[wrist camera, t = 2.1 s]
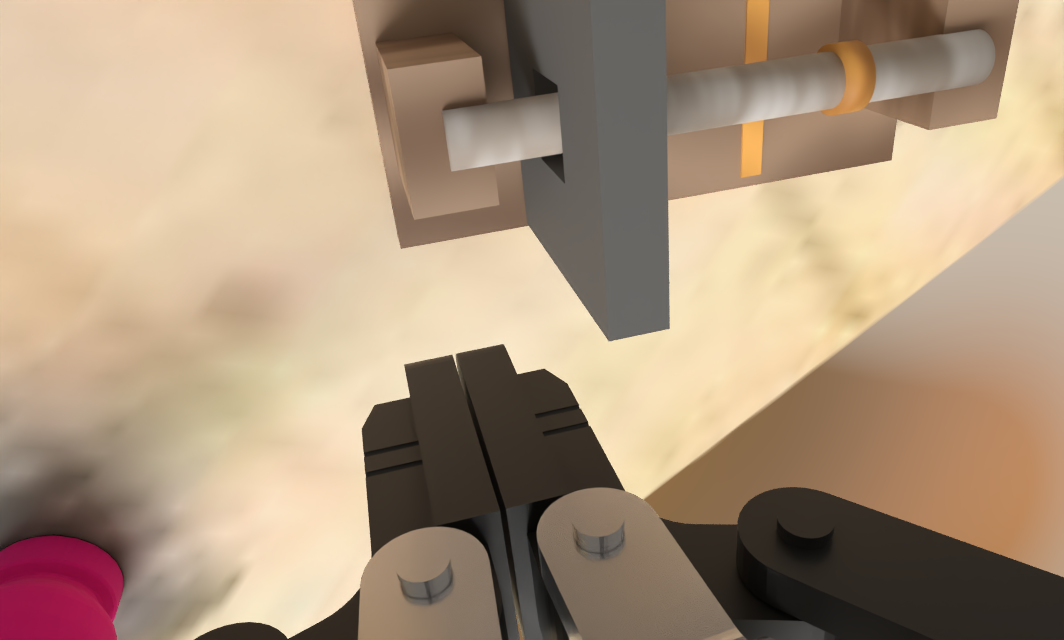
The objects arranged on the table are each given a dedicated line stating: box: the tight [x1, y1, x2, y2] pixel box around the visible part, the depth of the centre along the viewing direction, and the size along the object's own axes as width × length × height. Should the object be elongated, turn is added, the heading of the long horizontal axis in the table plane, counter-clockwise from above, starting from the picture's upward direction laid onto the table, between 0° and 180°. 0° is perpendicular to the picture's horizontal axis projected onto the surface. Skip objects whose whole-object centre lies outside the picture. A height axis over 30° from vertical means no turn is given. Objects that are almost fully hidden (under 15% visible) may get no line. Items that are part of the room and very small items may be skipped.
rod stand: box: [353, 0, 1019, 249], centre depth 30 cm, size 12×24×9 cm, turn 95°
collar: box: [504, 0, 670, 341], centre depth 26 cm, size 11×2×11 cm, turn 5°
